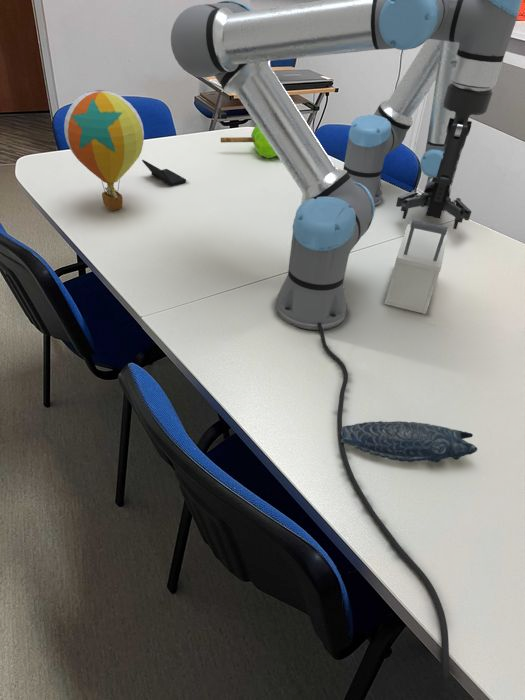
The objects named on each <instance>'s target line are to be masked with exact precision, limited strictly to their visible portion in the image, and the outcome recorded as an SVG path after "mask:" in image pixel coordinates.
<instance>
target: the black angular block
mask: <svg viewBox="0 0 525 700" xmlns="http://www.w3.org/2000/svg"><path fill="white" fill-rule="evenodd" d="M141 161H142V163H143V164H144V165H145V167H147V169H148V170H149V171H150V172H151V174H150V175H151V176H153V177H155V178H156V179H158V180H160V181H162V182H163V183H165V184H167V185H168V186H170V187H172V186H177V185H180V184H184V183H185V184H186V183H187V179H186V178H184V177H183V176H181V175H179V174H177V173H175V172H173V171H172V170H170V169H168V168H164V169H161V168H159V167H157V166H155V165H153V164H151V163H150V162H148V161H146V160H145V159H142V160H141Z"/></svg>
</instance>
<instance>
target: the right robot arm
mask: <svg viewBox="0 0 525 700" xmlns="http://www.w3.org/2000/svg"><path fill="white" fill-rule="evenodd" d="M458 49H459V42H450V41H443V40H435V39H428V40H426V41H425V42H424V43H423V44H422V45H421V48H420V49H419V51H418V53H417V54H416V55H415V58H414V59H413V60H412V62H411V64H410V65H409V67H408V69H407V70H406V72H404V73H405V74H404V75H403V76H402V78H401V80H400V81H399V83H398V85H397V86H396V88H395V89H394V91H393V92H392V93H391V95H390V97H389V99H385V100H382V101H381V102H380V104H379V105H378V107H377V108H376V110H375V112H374V113H373V114H366V115H359V116H357V117H355V118H354V119H353V120H352V122H351V125H350V128H349V131H348V139H347V145H346V151H345V157H344V163H343V168H342V170H346V171H347V172H348V174H349V175H350V177H351V178H352V180H353V181H354V182H357V183H360V184H362V185H363V186H365V187H366V188H367V189H368V190H369V192H370V193H371V195H372V197H373V200H374V205H375V207H376V206H378V205H380V204H381V203H382V199H383V188H384V187H383V184H382V172H383V167H384V163H385V159H386V156H387V155H389V154H390V153H392V152H393V151H395V150H396V149H397V148H399V147H400V146H401V145H402V143H403V142H404V140H405V138H406V135H407V133H408V131H409V130H410V128H411V127H412V125H413V124H414V120H413V115H414V113H416V110H418V107H419V106H420V105H421V103H422V102H423V100H424V99H425V98H426V96H427V95H428V93H429V92H430V90H431V89H432V87H433V86H434V90H433V91H434V92H433V97H432V98H433V99H432V105H431V112H430V118H429V124H428V125H429V126H428V131H427V132H428V134H427V138H426V144H425V151H424V153H423V155H422V157H421V159H420V162H419V166H420V170H421V172H422V174H423V175H425V176H426V177H427V180H426V184H425V187H424V190H423V192H422V193H419V192H418V190H417V189H413V190H412V191H410V192H408V193H405V194H403V195H400V196H397V199H396V203H395V207H397V208H400V212H403V213H402V219H403V220H406V217H407V216H408V212H409V209H413V208H416V207H421V208H424V207H428V205H429V202H430V198H431V195H432V191H433V187H434V184H435V182H432V179H433V177H435V178H436V177H437V173H438V170H439V166H440V163H441V159H443V153H444V151H445V150H444V148H445V146H444V142H445V139H446V135H447V132H446V130H447V126H448V123H449V119H450V118H454V117H455V113H456V112H454V111H449V110H447V109H446V108H445V107H444V106H443V102H444V99H445V95H446V91H447V88H448V86H449V85H450V84H451V83H453V82H452V81H451V79H450V78H451V74H452V71H453V69H454V68H455V67H451V66H450V63H451V61H457V60H456V56H457V51H458ZM462 151H463V149H461V150H460V153H459V155H460V156H461V155H462V153H463V152H462ZM459 161H460V159H459V160H457V164H456V167H455V170H454V174H453V177H452V183H451V185H450V188H449V191H448V195H447V198H446V201H445V204H444V208H443V211H442V212H447V213H448V214H449V215H450V216H453V217H454V221H453V227H452V228H453V230H457V228H458V224H462V223H463V221H469V220H470V218H471V215H472V210H471V209H470V208H469V207H467V205H466V204H464V202H463V201H462V199H461V197H456V198H455V199H452V198H451V191H452V186H453V182H454V179H455V175H456V173H457V169H458V165H459V163H460V162H459Z"/></svg>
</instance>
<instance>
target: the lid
mask: <svg viewBox="0 0 525 700" xmlns="http://www.w3.org/2000/svg"><path fill="white" fill-rule="evenodd" d="M448 230H449V226H446V225H441V224H436V223H432V222H427V221H423V220H418V219H411V223H410V224H407V225H406V228H405V231H404V234H403V237H402V240H401V243H400V246H399V249H398V252H397V255H396V257H395V262H400V263H404V264H409V265H413V266H417V267H421V268H426V269H430V270H434V271H439V273H441V269H442V264H443V259H444V254H445V249H446V243H447V238H448Z"/></svg>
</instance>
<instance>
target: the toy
mask: <svg viewBox="0 0 525 700" xmlns="http://www.w3.org/2000/svg"><path fill="white" fill-rule="evenodd" d="M63 128H64V130H63V131H64V132H63V133H64V137H65V141H66V144H67V146H68V148H69V150H70V151H71V152H72V154H73V156H75V158H76V159H77V161H78V162H80V163H81V165H83V166H84V167H85V168H86V169H87V170H88V171H90V172H91V173H92V174H93V175H94V176H96V177H97V178H98V179H100V180H101V183H102V184H101V185H102V187H103V191H102V193H101V198H102V203H103V205H104V207H105V208H106V209H108V210H109V211H110V212H113V211H118V210H121V209H122V208H123V203H124V201H123V195H122V194H121V193H120V192H119V191H118V190H119V188H120V183H118V182H120V181H121V178H122V177H123V176H124V175H125V174H126V173H127V172H128V171H129V170H130V169H131V167H133V165H134V164H135V163H136V161H137V160H138V159H139V158H140V155H141V153H142V150H143V147H144V141H145V131H144V130H145V129H144V125H143V121H142V119H141V116H140V114H139V113H138V111H137V109H136V108H134V106H133V105H132V103H130V102H129V101H128V100H127V99H126V98H124V97H123V96H122V95H119V94H117V93H115V92H112V91H109V90H102V89H101V90H100V89H98V90H92V91H87V92H85V93H82V95H79V96H78V97H77V98H76V99H75V100H73V102H72V103H71V105H70V107H69V108H68V111H67V112H66V114H65V118H64V124H63ZM104 183H105V184H106V185H107V186H106V187H105V186H104ZM115 183H118V185H117V190H116V188H115Z"/></svg>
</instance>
